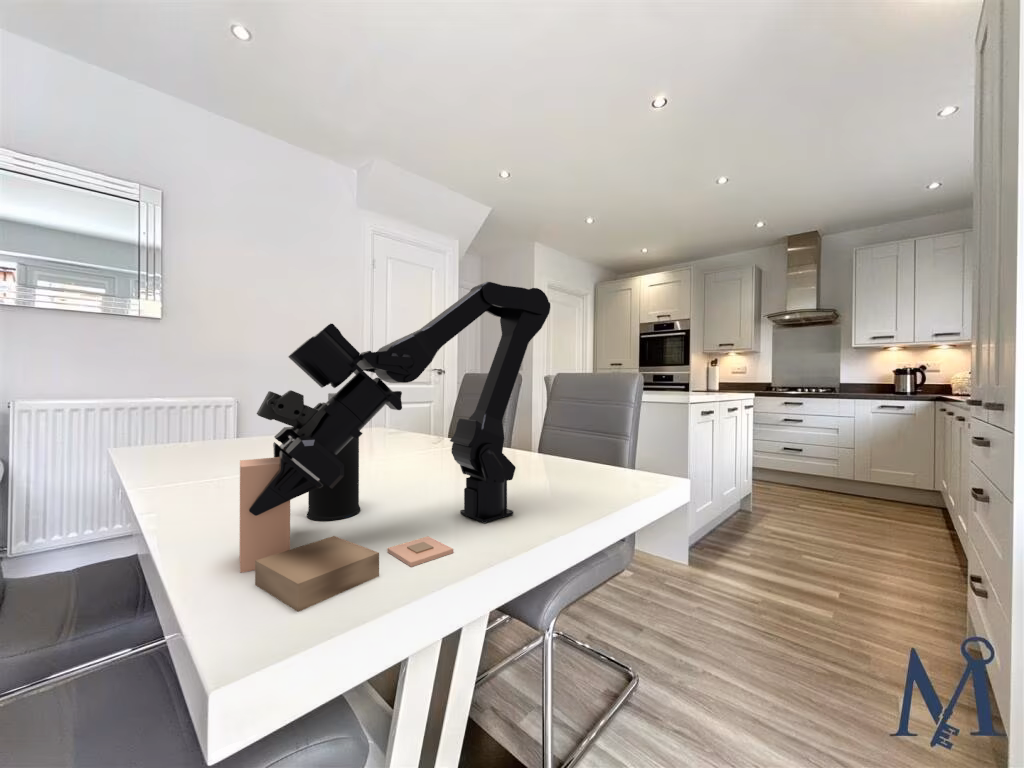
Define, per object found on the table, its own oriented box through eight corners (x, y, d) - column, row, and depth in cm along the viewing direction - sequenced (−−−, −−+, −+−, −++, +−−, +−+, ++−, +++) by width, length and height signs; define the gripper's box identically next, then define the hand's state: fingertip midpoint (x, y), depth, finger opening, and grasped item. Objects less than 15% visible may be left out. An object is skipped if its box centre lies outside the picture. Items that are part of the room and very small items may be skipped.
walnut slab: (334, 560, 51) (334, 535, 51) (379, 579, 46) (379, 552, 46) (255, 588, 44) (255, 560, 44) (297, 615, 39) (298, 583, 39)
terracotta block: (285, 548, 54) (285, 456, 54) (290, 562, 50) (290, 462, 50) (239, 557, 51) (239, 460, 51) (240, 572, 47) (240, 467, 47)
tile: (428, 539, 57) (428, 534, 57) (453, 552, 52) (453, 547, 52) (387, 551, 53) (387, 546, 53) (411, 566, 48) (411, 560, 48)
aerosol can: (371, 510, 70) (371, 392, 70) (327, 524, 63) (328, 393, 63) (339, 503, 74) (339, 392, 74) (295, 516, 67) (296, 393, 67)
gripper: (292, 371, 60) (196, 453, 54) (313, 366, 45) (183, 481, 39) (348, 422, 65) (266, 504, 58) (385, 433, 49) (279, 546, 43)
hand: (251, 507), depth 49 cm, fingers closed on terracotta block, 5 cm apart
